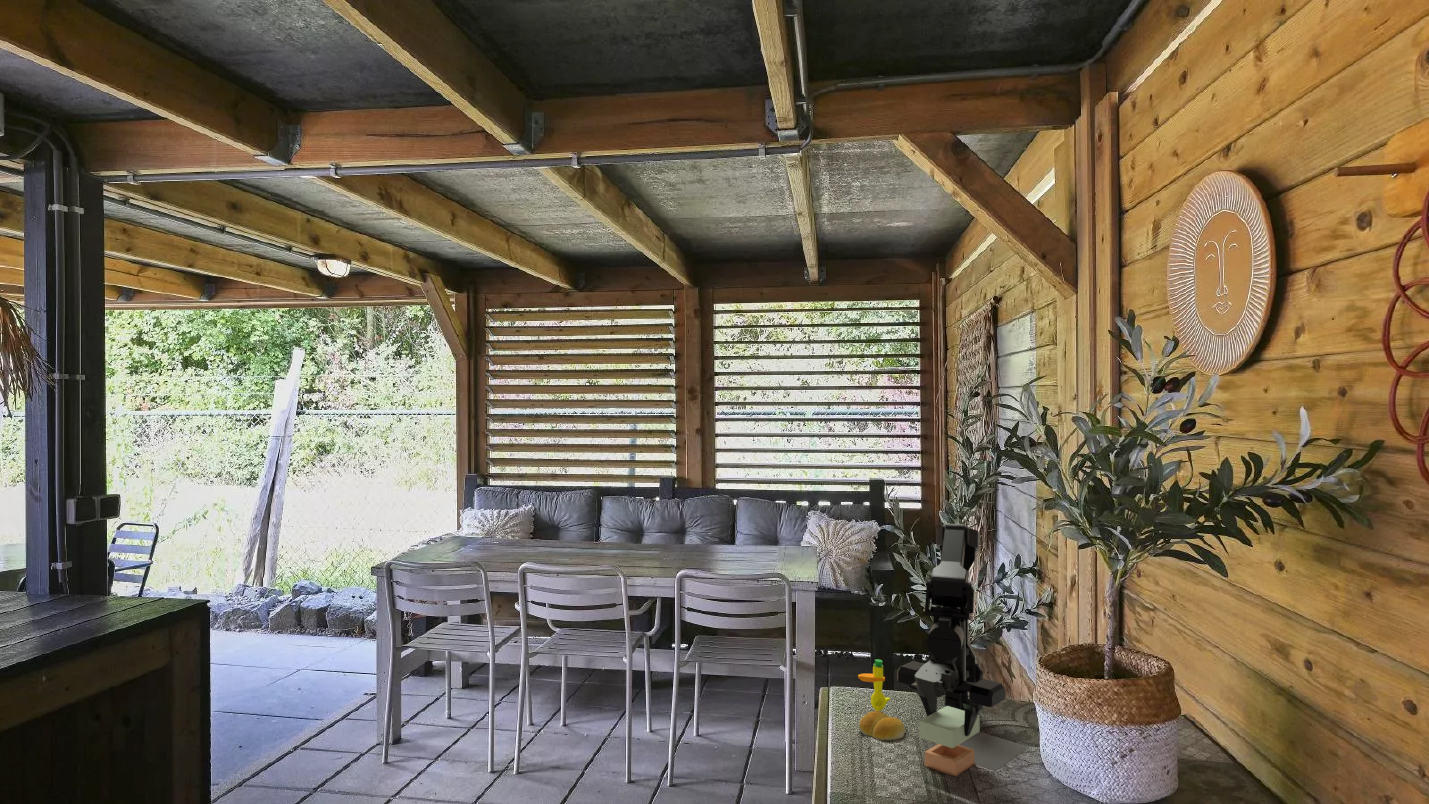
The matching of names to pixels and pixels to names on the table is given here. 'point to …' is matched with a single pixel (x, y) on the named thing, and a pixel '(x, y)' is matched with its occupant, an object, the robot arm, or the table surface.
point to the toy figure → (876, 685)
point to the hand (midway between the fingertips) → (949, 730)
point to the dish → (949, 759)
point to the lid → (946, 727)
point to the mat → (992, 750)
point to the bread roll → (881, 726)
